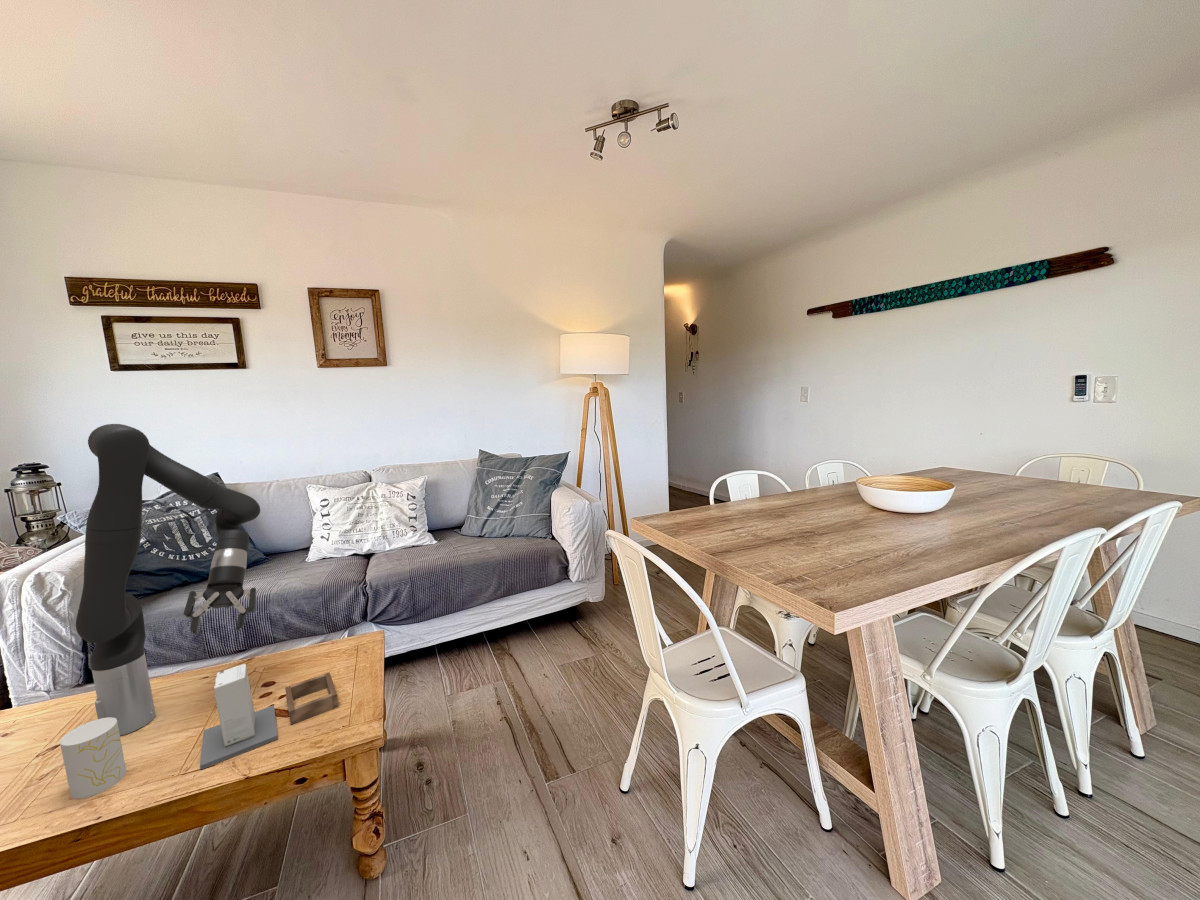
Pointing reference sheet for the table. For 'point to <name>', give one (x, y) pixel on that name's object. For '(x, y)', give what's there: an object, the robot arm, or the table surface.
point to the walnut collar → (314, 705)
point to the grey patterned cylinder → (93, 757)
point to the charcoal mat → (218, 752)
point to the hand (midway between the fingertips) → (217, 631)
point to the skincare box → (235, 704)
